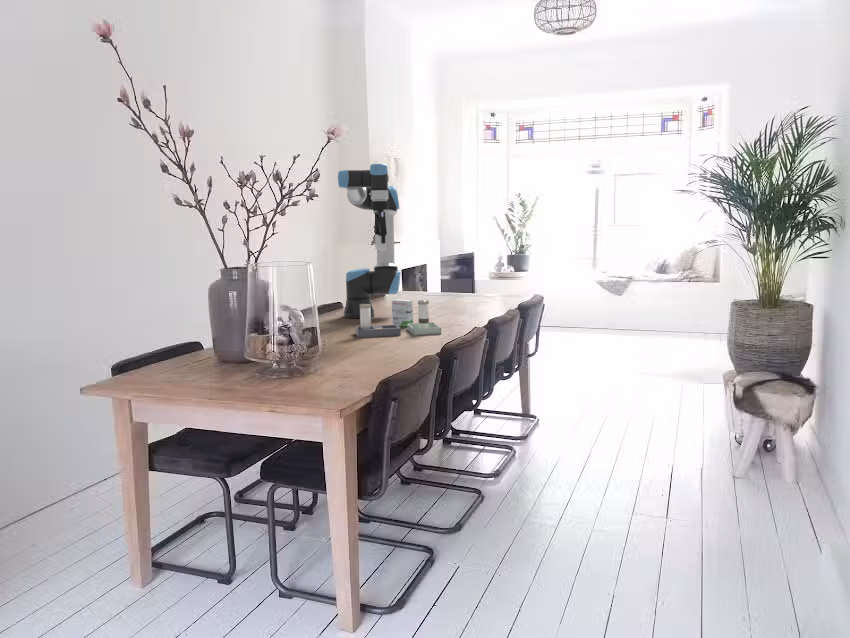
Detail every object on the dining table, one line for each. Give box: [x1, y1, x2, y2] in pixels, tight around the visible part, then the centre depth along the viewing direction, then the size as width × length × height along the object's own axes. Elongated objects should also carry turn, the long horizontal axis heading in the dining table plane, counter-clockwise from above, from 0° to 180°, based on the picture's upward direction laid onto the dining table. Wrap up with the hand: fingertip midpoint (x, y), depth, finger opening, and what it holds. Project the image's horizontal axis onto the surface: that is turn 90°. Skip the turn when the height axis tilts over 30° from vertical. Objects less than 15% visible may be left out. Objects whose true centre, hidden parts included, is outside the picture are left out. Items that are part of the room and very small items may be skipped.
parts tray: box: [406, 321, 442, 336], centre depth 303 cm, size 14×12×3 cm
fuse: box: [359, 303, 372, 329], centre depth 297 cm, size 5×5×13 cm
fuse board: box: [354, 324, 402, 338], centre depth 299 cm, size 10×18×3 cm, turn 102°
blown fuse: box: [417, 299, 430, 328], centre depth 302 cm, size 5×5×13 cm
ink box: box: [391, 298, 414, 328], centre depth 318 cm, size 9×5×12 cm, turn 60°
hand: (380, 250), depth 306 cm, fingers open, 13 cm apart
